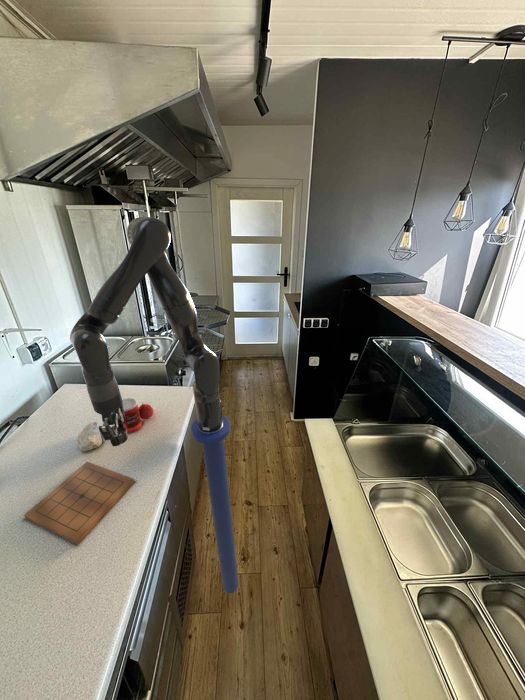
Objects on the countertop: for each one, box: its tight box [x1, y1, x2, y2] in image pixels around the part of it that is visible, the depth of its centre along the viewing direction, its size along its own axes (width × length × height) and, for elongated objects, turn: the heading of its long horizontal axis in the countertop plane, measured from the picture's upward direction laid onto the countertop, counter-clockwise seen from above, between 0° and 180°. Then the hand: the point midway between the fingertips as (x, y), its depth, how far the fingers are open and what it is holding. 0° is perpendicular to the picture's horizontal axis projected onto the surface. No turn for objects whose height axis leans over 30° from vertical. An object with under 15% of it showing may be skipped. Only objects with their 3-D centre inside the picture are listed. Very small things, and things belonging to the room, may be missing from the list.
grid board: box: [23, 461, 135, 546], centre depth 84 cm, size 20×20×2 cm
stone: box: [76, 420, 103, 452], centre depth 104 cm, size 8×12×10 cm
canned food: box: [122, 397, 143, 434], centre depth 110 cm, size 8×8×11 cm
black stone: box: [109, 427, 129, 445], centre depth 88 cm, size 5×5×3 cm
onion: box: [138, 402, 154, 420], centre depth 115 cm, size 6×6×8 cm
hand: (119, 438), depth 88 cm, fingers closed on black stone, 5 cm apart
